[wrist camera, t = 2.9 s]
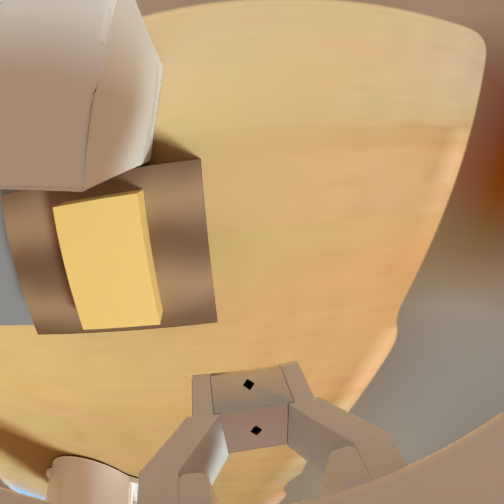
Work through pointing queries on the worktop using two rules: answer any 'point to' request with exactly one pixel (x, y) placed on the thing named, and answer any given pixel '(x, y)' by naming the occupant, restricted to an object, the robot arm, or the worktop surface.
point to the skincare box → (74, 92)
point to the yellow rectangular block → (109, 260)
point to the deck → (161, 239)
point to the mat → (10, 281)
